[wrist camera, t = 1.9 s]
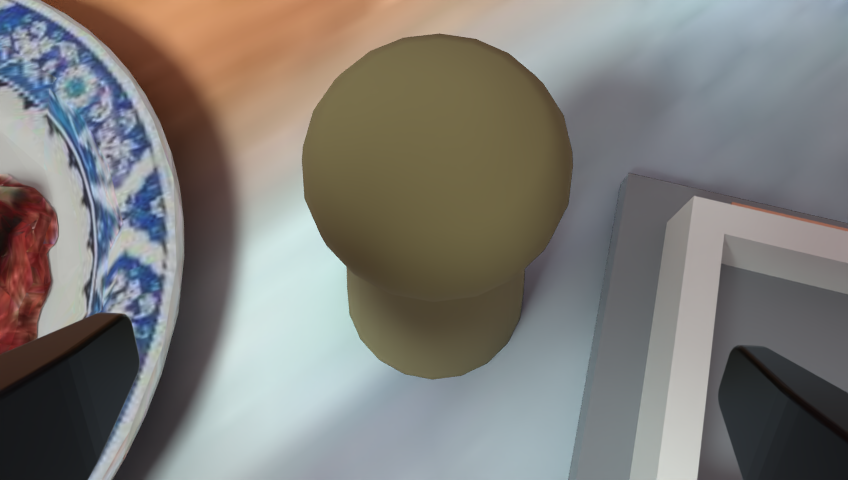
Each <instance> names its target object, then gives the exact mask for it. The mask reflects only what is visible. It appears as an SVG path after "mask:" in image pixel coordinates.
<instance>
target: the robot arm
mask: <svg viewBox="0 0 848 480" xmlns="http://www.w3.org/2000/svg"><path fill="white" fill-rule="evenodd" d="M139 365H140V358H139V353H138V348H137V344H136V339H135V335H134V330H133V326H132V322H131V320H130V318H129V317H128V316H127V315H126V314H123V313H106V312H101V313H96V314H94V315H91V316H89V317H87V318H84V319H82V320H80V321H77V322H75V323H73V324H70V325H68V326H66V327H63V328H61V329H59V330H56V331H54V332H51V333H49V334H47V335H44V336H42V337H40V338H37V339H35V340H33V341H30V342H28V343H26V344H23V345H21V346H19V347H16V348H14V349H12V350H9V351H7V352H5V353H2V354H0V480H88V479H89V477H90V475H91V473H92V471H93V470H94V468H95V466H96V464H97V462H98V460H99V458H100V456H101V454H102V452H103V450H104V448H105V446H106V444H107V441H108V439H109V437H110V435H111V432H112V430H113V428H114V426H115V424H116V421H117V419H118V417H119V415H120V412H121V410H122V408H123V406H124V403H125V401H126V399H127V397H128V394H129V392H130V390H131V388H132V386H133V383H134V381H135V379H136V377H137V374H138V371H139ZM718 402H719V407H720V410H721V413H722V416H723V420H724V423H725V426H726V429H727V432H728V435H729V438H730V442H731V445H732V448H733V451H734V454H735V457H736V460H737V463H738V467H739V470H740V473H741V476H742V479H743V480H848V392H846V391H844V390H842V389H840V388H839V387H837V386H835V385H833V384H832V383H830V382H828V381H826V380H824V379H823V378H821V377H819V376H817V375H815V374H814V373H812V372H810V371H808V370H807V369H805V368H803V367H801V366H799V365H798V364H796V363H794V362H792V361H790V360H789V359H787V358H785V357H783V356H781V355H780V354H778V353H776V352H774V351H773V350H771V349H769V348H767V347H764V346H754V345H737V346H735V347H733V348H732V350H731V351H730V354H729V356H728V360H727V363H726V366H725V369H724V373H723V376H722V379H721V382H720V386H719V390H718Z"/></svg>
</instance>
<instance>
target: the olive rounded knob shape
mask: <svg viewBox="0 0 848 480" xmlns="http://www.w3.org/2000/svg"><path fill="white" fill-rule="evenodd" d="M302 166H303V182H304V197H305V201H306V203H307V205H308V207H309V210H310V212H311V214H312V216H313V219H314V221H315V223H316V226H317V228H318V230H319V232H320V235H321V236H322V238H323V240H324V242H325V243H326V245H327V246H328V247H329V248H330V249H331V251H332V252H333V253H334V254H335V255H336V256H337V257H338V258H339V259H340V260H341V261H342V262H343V263H344V264H345V265H346V266H347V290H348V301H349V313H350V316H351V318H352V321H353V323H354V325H355V327H356V330H357V332H358V334H359V337H360V339H361V340H362V341H363V342H364V343H365V345H366V346H367V347H368V348H369V349H370V350H371V351H372V352H373V353H374V354H375V356H376V357H377V358H378V359H379V360H380V361H382V362H384V363H386V364H388V365H389V366H391V367H393V368H395V369H396V370H398V371H400V372H402V373H404V374H407V375H413V376H418V377H423V378H428V379H440V378H447V377H455V376H462V375H464V374H466V373H468V372H470V371H472V370H474V369H476V368H478V367H480V366H482V365H484V364H487V363H488V362H489V361H490V360H491V359H492V358H493V357H494V356H495V355H496V354H497V353H498V352H499V351H500V350H501V349H502V348H503V347H504V346H505V345H506V344H507V343H508V341H509V339H510V337H511V335H512V333H513V331H514V329H515V327H516V325H517V323H518V321H519V319H520V314H521V307H522V300H523V292H524V275H525V268H526V267H527V266H528V265H529V264H530V263H531V262H532V261H533V260H534V259H535V258H537V257H538V256H539V255H540V254H541V253H542V252H543V251H544V249H545V248H546V246H547V245H548V243H549V241H550V239H551V237H552V236H553V234H554V232H555V230H556V228H557V226H558V224H559V222H560V220H561V218H562V216H563V214H564V212H565V210H566V208H567V206H568V202H569V194H570V186H571V177H572V169H573V158H572V149H571V145H570V141H569V136H568V132H567V128H566V124H565V119H564V115H563V114H562V112H561V111H560V109H559V107H558V106H557V104H556V103H555V101H554V100H553V98H552V96H551V95H550V93H549V92H548V90H547V89H546V87H545V85H544V84H543V83H542V82H541V81H540V80H539V79H538V78H537V77H536V76H535V75H534V74H533V73H531V72H530V71H529V70H528V69H527V68H525V67H524V66H523V65H522V64H521V63H520V62H518V61H517V60H516V59H515V58H514V57H512V56H511V55H510V54H509V53H507V52H504V51H502V50H500V49H497V48H495V47H493V46H491V45H488V44H486V43H484V42H481V41H479V40H477V39H472V38H466V37H459V36H452V35H445V34H433V35H424V36H415V37H407V38H402V39H400V40H397V41H394V42H392V43H389V44H387V45H384V46H382V47H379V48H377V49H374V50H372V51H370V52H369V53H367V54H366V55H365V56H363V57H362V58H361V59H359V60H358V61H357V62H356V63H354V64H353V65H352V66H350V67H349V68H348V69H347V70H345V71H344V72H343V73H342V74H341V75H340V76H338V77H337V78H336V79H335V80H334V82H333V83H332V85H331V86H330V88H329V89H328V91H327V92H326V93H325V95H324V96H323V98H322V99H321V101H320V102H319V103H318V105H317V106H316V108H315V109H314V111H313V114H312V117H311V121H310V124H309V128H308V131H307V135H306V138H305V142H304V145H303V154H302Z"/></svg>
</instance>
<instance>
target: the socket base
mask: <svg viewBox="0 0 848 480" xmlns="http://www.w3.org/2000/svg"><path fill="white" fill-rule="evenodd" d="M737 345H754V346H764V347H767V348H769V349H771V350H773V351H774V352H776V353H778V354H780V355H781V356H783V357H785V358H787V359H789V360H790V361H792V362H794V363H796V364H798V365H799V366H801V367H803V368H805V369H807V370H808V371H810V372H812V373H814V374H815V375H817V376H819V377H821V378H823V379H824V380H826V381H828V382H830V383H832V384H833V385H835V386H837V387H839V388H840V389H842V390H844V391H846V392H848V223H844V222H840V221H835V220H831V219H827V218H822V217H818V216H814V215H809V214H805V213H801V212H796V211H792V210H788V209H783V208H779V207H775V206H770V205H766V204H762V203H757V202H753V201H749V200H744V199H740V198H736V197H731V196H727V195H723V194H718V193H714V192H710V191H705V190H701V189H697V188H692V187H688V186H684V185H679V184H675V183H671V182H666V181H662V180H658V179H653V178H649V177H645V176H640V175H636V174H632V173H629V174H628V175H627V177H626V178H625V179H624V181H623V182H622V184H621V185H620V191H619V197H618V202H617V208H616V213H615V219H614V225H613V230H612V236H611V242H610V247H609V253H608V259H607V264H606V270H605V276H604V281H603V287H602V292H601V298H600V304H599V309H598V315H597V321H596V326H595V332H594V338H593V343H592V349H591V355H590V360H589V366H588V371H587V377H586V383H585V388H584V394H583V400H582V405H581V411H580V417H579V422H578V428H577V434H576V439H575V445H574V451H573V456H572V462H571V467H570V473H569V479H568V480H743V479H742V476H741V473H740V470H739V467H738V463H737V460H736V457H735V454H734V451H733V448H732V445H731V442H730V438H729V435H728V432H727V429H726V426H725V423H724V420H723V416H722V413H721V410H720V407H719V402H718V390H719V386H720V382H721V379H722V376H723V373H724V369H725V366H726V363H727V360H728V356H729V354H730V351H731V350H732V348H733V347H735V346H737Z"/></svg>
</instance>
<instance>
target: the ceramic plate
mask: <svg viewBox="0 0 848 480" xmlns="http://www.w3.org/2000/svg"><path fill="white" fill-rule="evenodd" d="M183 263H184V217H183V209H182V201H181V193H180V185H179V181H178V177H177V173H176V169H175V165H174V161H173V156H172V153H171V150H170V148H169V145H168V142H167V139H166V137H165V134H164V131H163V129H162V126H161V124H160V121H159V120H158V118H157V116H156V114H155V112H154V110H153V108H152V106H151V104H150V102H149V100H148V98H147V96H146V95H145V93H144V92H143V90H142V89H141V87H140V86H139V84H138V83H137V81H136V80H135V78H134V77H133V76H132V74H131V73H130V71H129V70H128V69H127V68H126V67H125V65H124V64H123V63H122V62H121V61H120V60H119V59H118V57H117V56H116V55H115V54H114V53H113V52H112V51H111V50H110V49H109V48H108V47H107V46H106V45H105V44H104V43H103V42H102V41H100V40H99V39H98V38H97V37H96V36H95V35H94V34H93V33H91V32H90V31H89V30H88V29H86V28H85V27H84V26H82V25H81V24H79V23H78V22H76V21H75V20H74V19H72V18H71V17H69V16H68V15H66V14H65V13H63V12H61V11H59V10H58V9H56V8H54V7H52V6H50V5H48V4H47V3H45V2H43V1H41V0H0V354H2V353H5V352H7V351H9V350H12V349H14V348H16V347H19V346H21V345H23V344H26V343H28V342H30V341H33V340H35V339H37V338H40V337H42V336H44V335H47V334H49V333H51V332H54V331H56V330H59V329H61V328H63V327H66V326H68V325H70V324H73V323H75V322H77V321H80V320H82V319H84V318H87V317H89V316H91V315H94V314H96V313H101V312H106V313H123V314H126V315H127V316H128V317H129V318H130V320H131V322H132V326H133V330H134V335H135V339H136V344H137V348H138V353H139V358H140V365H139V371H138V374H137V377H136V379H135V381H134V383H133V386H132V388H131V390H130V392H129V394H128V397H127V399H126V401H125V403H124V406H123V408H122V410H121V412H120V415H119V417H118V419H117V421H116V424H115V426H114V428H113V430H112V432H111V435H110V437H109V439H108V441H107V444H106V446H105V448H104V450H103V452H102V454H101V456H100V458H99V460H98V462H97V464H96V466H95V468H94V470H93V471H92V473H91V475H90V477H89V479H88V480H112V479H113V478H114V476H115V474H116V473H117V471H118V469H119V468H120V466H121V464H122V463H123V461H124V459H125V457H126V455H127V453H128V451H129V449H130V447H131V445H132V443H133V441H134V439H135V437H136V435H137V433H138V431H139V428H140V426H141V424H142V422H143V420H144V418H145V416H146V414H147V411H148V408H149V406H150V403H151V401H152V398H153V395H154V393H155V390H156V388H157V385H158V382H159V380H160V377H161V375H162V371H163V368H164V364H165V360H166V357H167V353H168V349H169V346H170V342H171V338H172V335H173V331H174V327H175V323H176V320H177V316H178V311H179V301H180V292H181V282H182V273H183Z"/></svg>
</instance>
